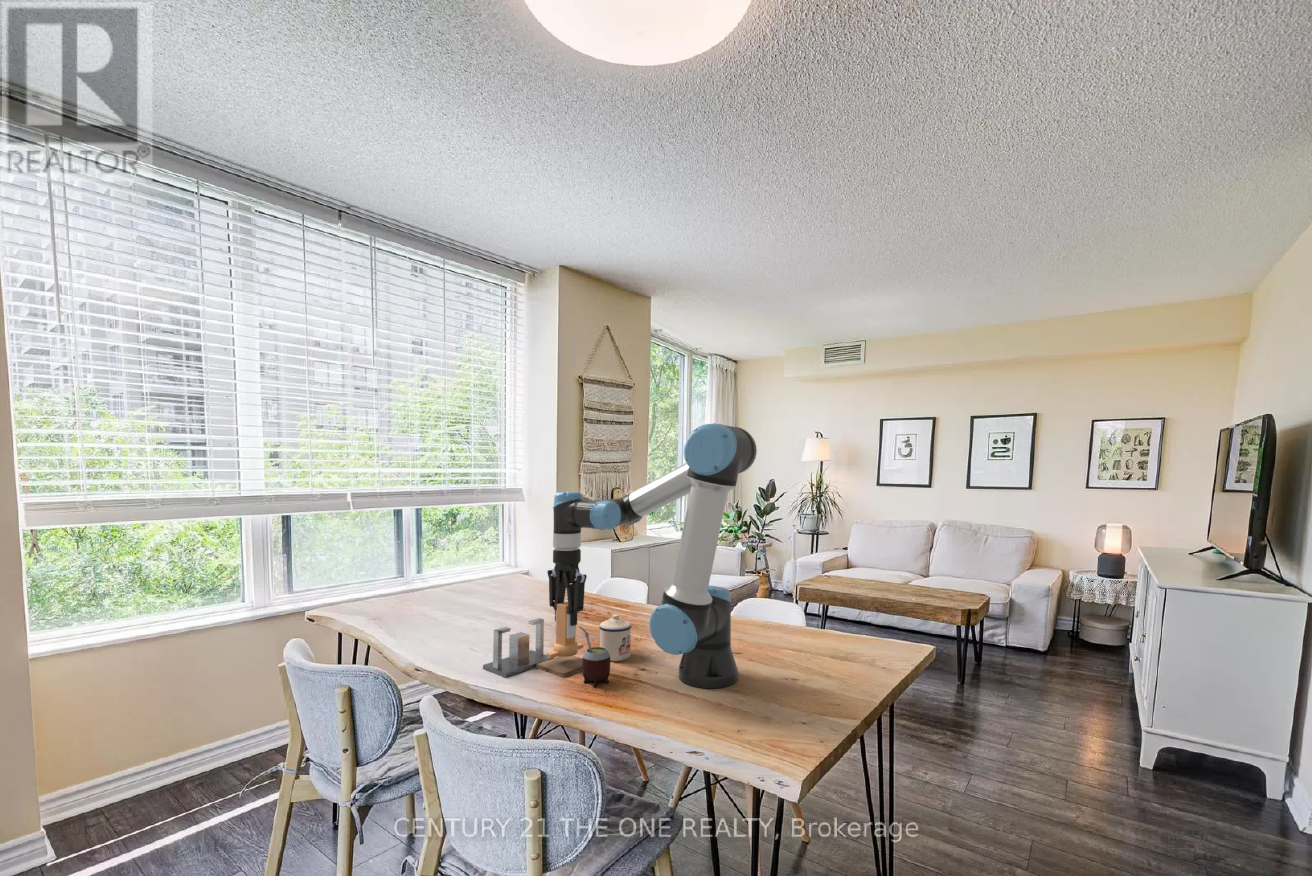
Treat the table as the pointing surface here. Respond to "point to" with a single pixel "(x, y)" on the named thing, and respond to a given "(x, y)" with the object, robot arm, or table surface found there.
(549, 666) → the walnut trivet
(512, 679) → the table surface
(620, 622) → the teacup with lid
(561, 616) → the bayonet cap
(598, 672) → the mate gourd
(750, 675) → the table surface
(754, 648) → the table surface
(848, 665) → the table surface
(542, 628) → the grey double hook stand
